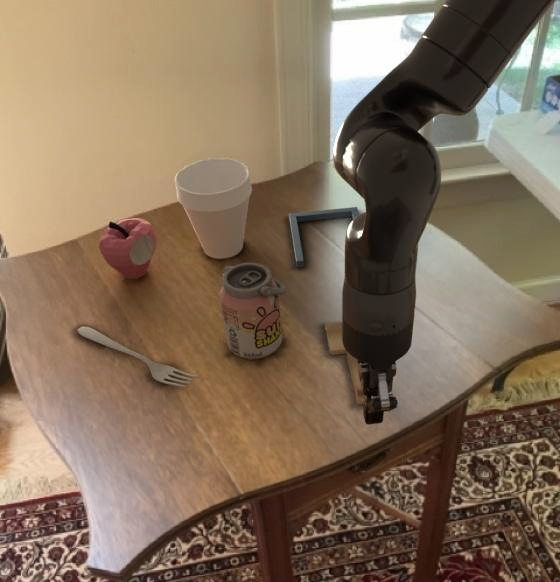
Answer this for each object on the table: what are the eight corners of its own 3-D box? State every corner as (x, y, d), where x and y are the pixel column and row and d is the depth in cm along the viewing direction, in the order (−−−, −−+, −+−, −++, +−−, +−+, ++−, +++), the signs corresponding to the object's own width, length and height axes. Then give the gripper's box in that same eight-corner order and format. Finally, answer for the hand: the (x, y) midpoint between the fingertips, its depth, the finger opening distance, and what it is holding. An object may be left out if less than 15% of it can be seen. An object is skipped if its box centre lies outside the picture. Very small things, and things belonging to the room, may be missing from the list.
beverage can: (260, 314, 101) (252, 247, 92) (300, 337, 96) (296, 269, 88) (215, 345, 96) (203, 278, 88) (255, 371, 92) (246, 303, 83)
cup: (218, 277, 108) (206, 203, 99) (174, 249, 115) (158, 178, 106) (272, 245, 114) (266, 172, 104) (227, 221, 121) (217, 150, 111)
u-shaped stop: (371, 260, 109) (371, 253, 108) (296, 267, 109) (296, 261, 108) (357, 212, 120) (357, 206, 119) (289, 219, 120) (288, 213, 119)
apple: (126, 295, 106) (111, 243, 100) (98, 274, 111) (82, 223, 104) (174, 269, 111) (162, 217, 104) (145, 250, 116) (132, 199, 109)
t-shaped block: (393, 401, 86) (394, 386, 84) (339, 406, 86) (339, 391, 84) (372, 323, 97) (372, 308, 95) (325, 327, 97) (324, 313, 95)
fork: (87, 323, 102) (84, 314, 101) (202, 383, 91) (200, 374, 89) (71, 334, 100) (67, 325, 99) (186, 397, 89) (184, 388, 88)
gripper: (428, 347, 64) (415, 458, 76) (400, 269, 73) (392, 378, 85) (352, 355, 64) (350, 465, 76) (334, 275, 73) (335, 384, 85)
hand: (373, 419), depth 81 cm, fingers closed
